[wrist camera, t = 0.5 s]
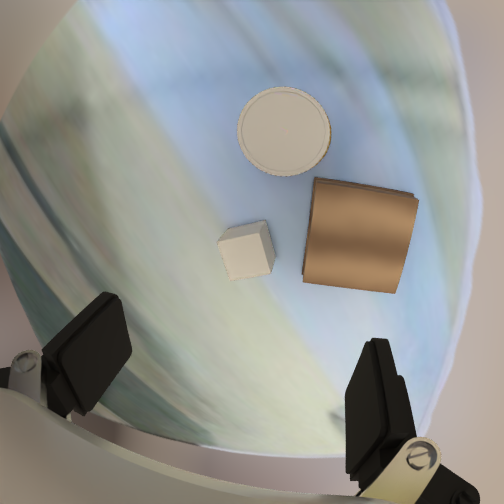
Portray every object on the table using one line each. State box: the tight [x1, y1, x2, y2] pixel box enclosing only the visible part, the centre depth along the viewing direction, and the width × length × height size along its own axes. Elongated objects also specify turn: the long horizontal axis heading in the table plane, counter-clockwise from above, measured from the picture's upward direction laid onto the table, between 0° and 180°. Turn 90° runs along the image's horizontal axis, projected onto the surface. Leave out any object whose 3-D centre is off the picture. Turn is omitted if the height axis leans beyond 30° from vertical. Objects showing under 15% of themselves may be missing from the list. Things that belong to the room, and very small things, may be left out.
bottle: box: [237, 87, 331, 177], centre depth 24 cm, size 7×7×15 cm
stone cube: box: [217, 220, 276, 281], centre depth 35 cm, size 5×5×5 cm
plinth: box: [302, 177, 419, 294], centre depth 33 cm, size 12×12×3 cm
